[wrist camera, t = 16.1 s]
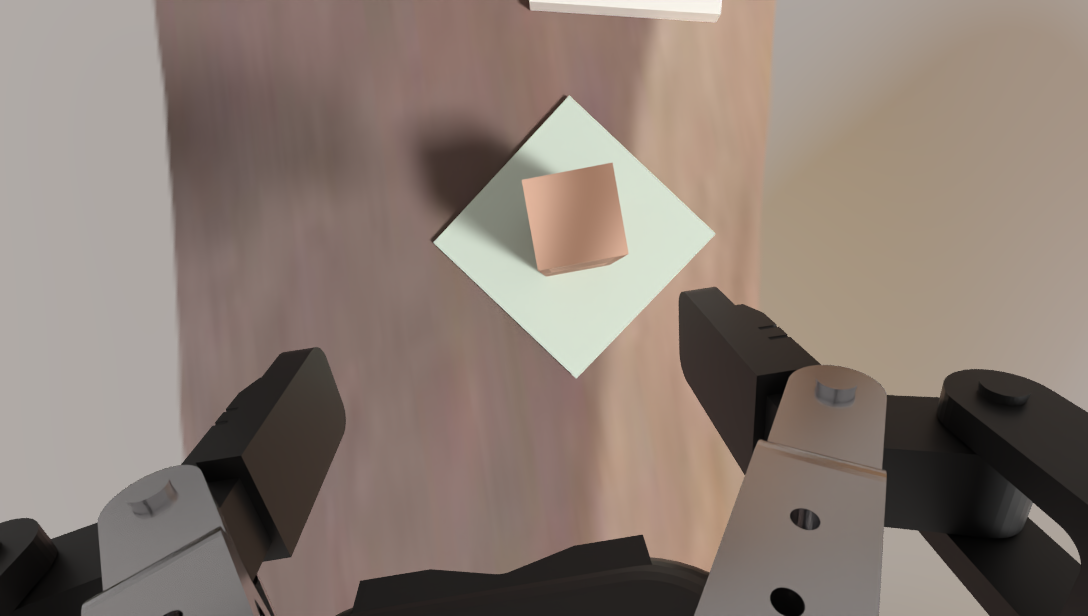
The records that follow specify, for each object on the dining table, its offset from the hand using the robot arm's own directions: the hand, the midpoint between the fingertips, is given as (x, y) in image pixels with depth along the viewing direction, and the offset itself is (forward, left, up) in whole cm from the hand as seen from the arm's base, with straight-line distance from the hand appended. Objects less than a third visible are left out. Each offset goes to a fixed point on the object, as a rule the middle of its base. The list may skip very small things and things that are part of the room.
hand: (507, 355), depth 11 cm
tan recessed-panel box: (-2, +5, -22) cm, 23 cm away
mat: (-2, +5, -22) cm, 23 cm away
